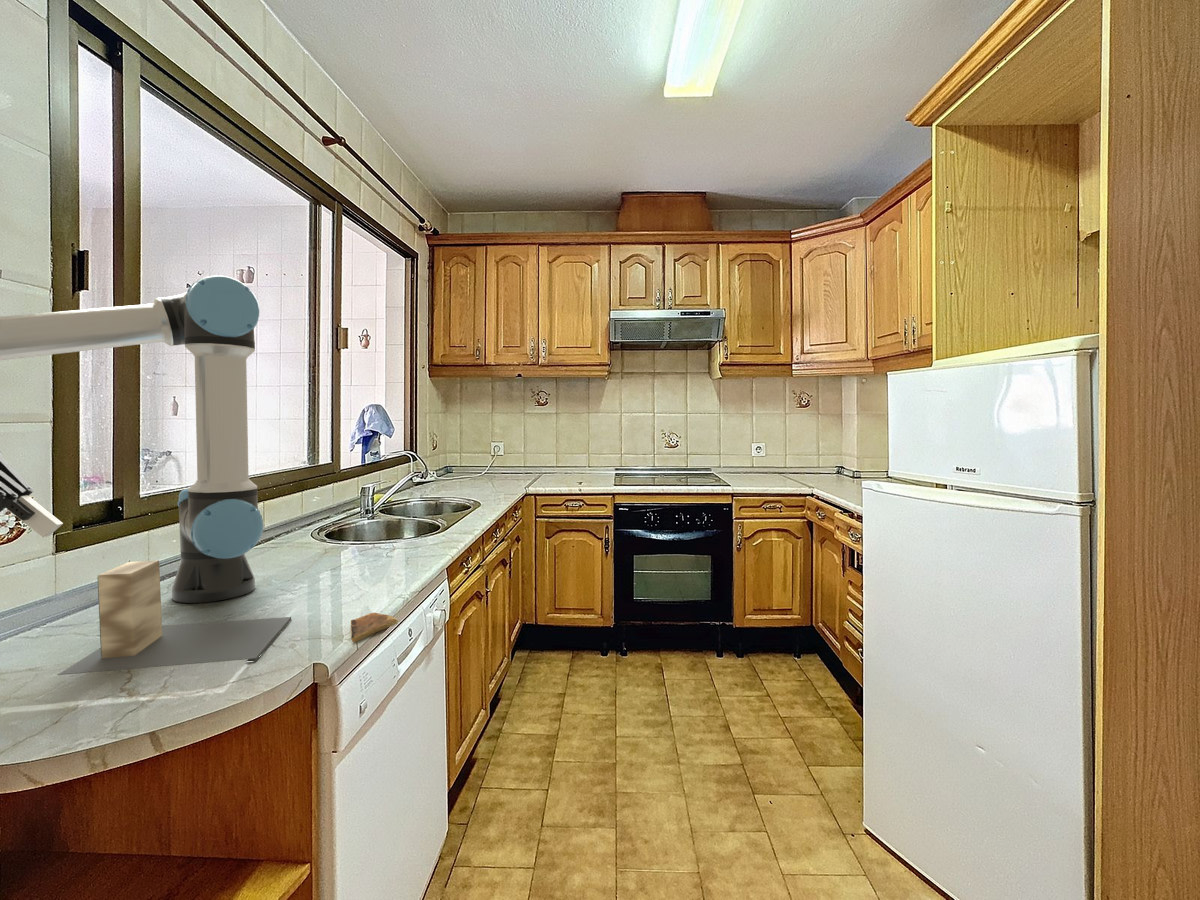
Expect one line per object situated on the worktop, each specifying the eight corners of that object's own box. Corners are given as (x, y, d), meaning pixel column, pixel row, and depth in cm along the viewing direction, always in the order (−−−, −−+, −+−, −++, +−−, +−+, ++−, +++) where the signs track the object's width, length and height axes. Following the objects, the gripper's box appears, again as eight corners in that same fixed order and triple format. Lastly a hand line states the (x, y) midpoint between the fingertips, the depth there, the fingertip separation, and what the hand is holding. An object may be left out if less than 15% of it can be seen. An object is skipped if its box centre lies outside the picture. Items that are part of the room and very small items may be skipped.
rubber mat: (58, 678, 87) (57, 674, 87) (131, 631, 107) (131, 628, 107) (255, 661, 93) (255, 658, 93) (291, 620, 113) (291, 616, 113)
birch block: (100, 658, 93) (96, 575, 93) (131, 637, 102) (127, 561, 101) (134, 655, 94) (130, 573, 94) (162, 635, 103) (159, 560, 102)
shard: (352, 646, 101) (351, 635, 101) (320, 639, 104) (319, 629, 104) (399, 626, 111) (399, 616, 110) (369, 620, 114) (368, 610, 114)
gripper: (-66, 440, 96) (61, 539, 101) (-147, 443, 83) (3, 556, 88) (-28, 407, 97) (96, 507, 101) (-101, 404, 84) (44, 519, 89)
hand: (53, 530), depth 95 cm, fingers closed
